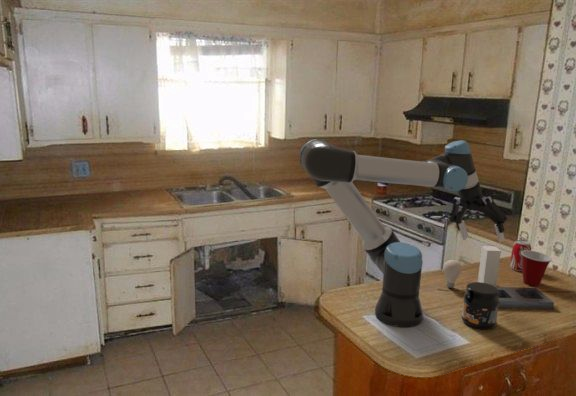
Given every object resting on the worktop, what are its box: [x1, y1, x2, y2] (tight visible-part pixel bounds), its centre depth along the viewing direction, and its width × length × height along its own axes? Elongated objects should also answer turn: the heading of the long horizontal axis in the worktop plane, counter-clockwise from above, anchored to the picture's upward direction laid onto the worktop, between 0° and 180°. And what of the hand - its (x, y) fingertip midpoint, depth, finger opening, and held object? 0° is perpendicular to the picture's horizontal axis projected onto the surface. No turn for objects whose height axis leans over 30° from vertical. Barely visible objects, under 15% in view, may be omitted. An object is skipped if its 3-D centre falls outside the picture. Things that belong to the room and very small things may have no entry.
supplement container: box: [461, 281, 500, 330], centre depth 146 cm, size 10×10×12 cm
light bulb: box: [442, 259, 462, 289], centre depth 172 cm, size 7×7×11 cm
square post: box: [477, 245, 502, 287], centre depth 175 cm, size 5×5×15 cm
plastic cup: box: [521, 250, 553, 287], centre depth 178 cm, size 11×11×12 cm
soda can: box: [509, 239, 532, 272], centre depth 192 cm, size 7×7×12 cm
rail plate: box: [496, 286, 555, 310], centre depth 163 cm, size 22×12×2 cm, turn 89°
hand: (483, 239), depth 162 cm, fingers open, 13 cm apart
